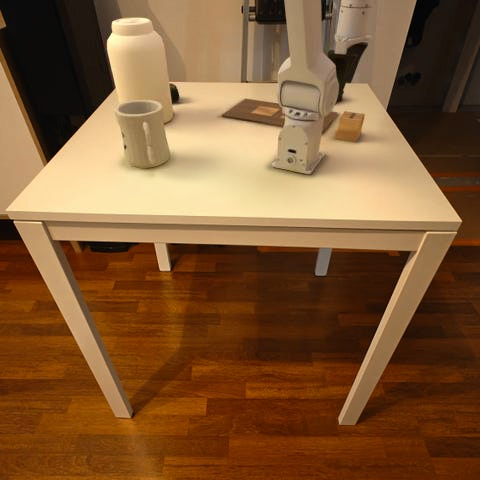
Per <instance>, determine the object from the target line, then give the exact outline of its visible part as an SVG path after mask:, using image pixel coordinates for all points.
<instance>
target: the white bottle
mask: <svg viewBox="0 0 480 480" xmlns="http://www.w3.org/2000/svg"><path fill="white" fill-rule="evenodd" d="M111 31H112V32H111V34H110V36H109V37H108V38H107V40H106V51H107V55H108V59H109V60H108V61H109V64H110V68H111V69H110V70H111V74H112V77H113V82H114V87H115V90H116V95H117V99H118V103H119V104H118V105H120V104H122V103H125V102H128V101H134V100H153V101H157V102H159V103H161V104H162V106H163V117H164V124H166V123H168V122H170V121H171V120H172V119H173V118H174V109H173V101H171V93H170V85H169V83H170V80H169V79H170V78H169V71H168V64H167V56H166V49H165V44H164V41H163V40H164V39H163V38H162V36H161V35H160V34H159V33H158V32H157V31H155V30H154V25H153V22H152V20H150V19H149V18H145V17H124V18H123V17H122V18H117V19H115V20H113V21H112V22H111Z"/></svg>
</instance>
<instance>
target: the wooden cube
mask: <svg viewBox="0 0 480 480" xmlns="http://www.w3.org/2000/svg"><path fill="white" fill-rule="evenodd" d="M365 116H366V114H365V113H359V112H353V111H346V110H345V111H344V112H343V113H341V115H340V117H339V119H338V125H337V130H336V136H335V139H336V140H340V141H347V142H353V143H357V141H358V139H359V138H360V136H361V133H362V131H363V125H364V122H365V121H364V120H365V118H366V117H365Z"/></svg>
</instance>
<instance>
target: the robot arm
mask: <svg viewBox="0 0 480 480" xmlns="http://www.w3.org/2000/svg"><path fill="white" fill-rule="evenodd" d="M283 1H284V10H285V19H286V30H287V31H286V32H287V39H288V49H289V56H288V57H287V58H286V59H285V60H284V61H283V63H282V64H281V66H280V67H279V69H278V72H277V75H276V76H277V86H276V87H277V88H276V99H277V103H278V104H279V105H280V107H282V113H284V114H285V124H284V127H281V130H280V131H279V133H278V137H277V153H276V159H275V160H274V161H273V162H272V164H271V167H272V168H277V169H280V170H281V169H282V170H287V171H292V172H295V173H300V174H305V175H310V174H312V173H313V171H314V169H315V168H316V167H317V166H318V164H319V163H320V162H321V160H322V159H323V158H324V157H325V153H324V152H320V147H321V141H322V134H323V132H322V128H323V121H324V116H327V115H328V114H329V113H330V112H331V111H332V112H333V110H334V109H335V106H336V103H337V97H338V93H342V92H343V90H344V91H345V88H346V84H351V83H352V82H353V79H354V76H355V73H356V71H357V69H358V65H359V63H360V60H361V58H362V56H363V55H364V52H365V51H366V49H367V48H368V46H369V42H371V40H372V39H373V35H372V34H367V33H368V29H369V28H368V27H369V22H370V17H371V12H372V8H373V3H374V0H340V7H339V14H338V20H337V26H336V31H335V32H336V33H335V34H334V41H335V48H334V49H329V50H328V51H327V53H326V54H327V55H326V54H325V53H324V52H323V33H322V32H323V31H322V30H323V29H322V28H323V26H322V24H323V23H322V22H323V21H322V0H283Z"/></svg>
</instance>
